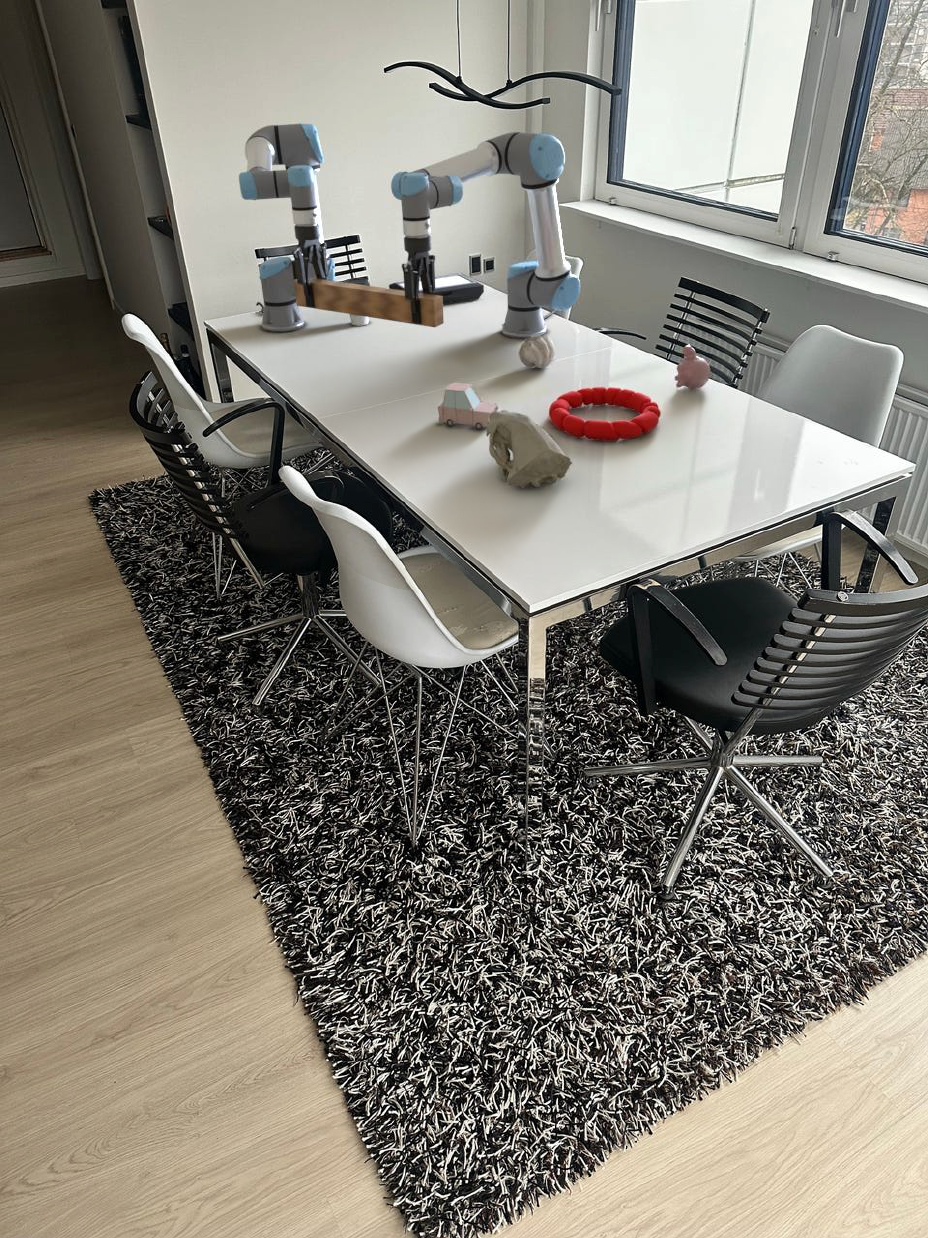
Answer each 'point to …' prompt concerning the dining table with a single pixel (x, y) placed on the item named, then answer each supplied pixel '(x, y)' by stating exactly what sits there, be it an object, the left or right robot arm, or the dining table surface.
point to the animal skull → (525, 450)
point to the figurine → (692, 370)
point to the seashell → (536, 351)
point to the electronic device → (451, 288)
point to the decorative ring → (604, 428)
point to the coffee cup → (358, 319)
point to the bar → (371, 301)
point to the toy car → (465, 406)
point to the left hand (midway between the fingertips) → (316, 304)
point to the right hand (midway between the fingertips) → (422, 320)
